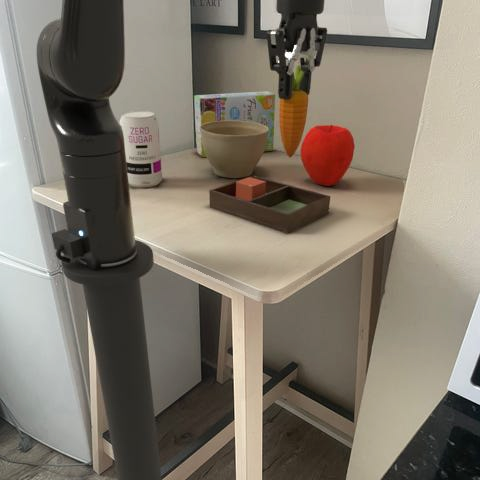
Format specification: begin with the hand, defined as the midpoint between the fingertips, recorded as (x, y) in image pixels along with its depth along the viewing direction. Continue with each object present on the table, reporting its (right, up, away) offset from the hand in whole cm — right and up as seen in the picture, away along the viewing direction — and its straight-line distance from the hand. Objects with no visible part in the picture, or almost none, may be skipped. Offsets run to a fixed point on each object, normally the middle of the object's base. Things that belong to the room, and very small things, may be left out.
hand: (294, 96), depth 86 cm
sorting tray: (-4, -16, +16) cm, 23 cm away
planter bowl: (-11, -3, +37) cm, 38 cm away
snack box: (-11, +8, +53) cm, 55 cm away
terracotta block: (-7, -14, +18) cm, 24 cm away
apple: (+10, -7, +30) cm, 33 cm away
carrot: (0, -9, +6) cm, 11 cm away
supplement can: (-32, -7, +29) cm, 44 cm away
